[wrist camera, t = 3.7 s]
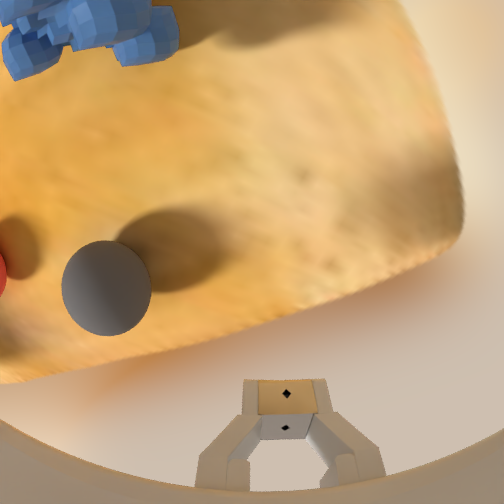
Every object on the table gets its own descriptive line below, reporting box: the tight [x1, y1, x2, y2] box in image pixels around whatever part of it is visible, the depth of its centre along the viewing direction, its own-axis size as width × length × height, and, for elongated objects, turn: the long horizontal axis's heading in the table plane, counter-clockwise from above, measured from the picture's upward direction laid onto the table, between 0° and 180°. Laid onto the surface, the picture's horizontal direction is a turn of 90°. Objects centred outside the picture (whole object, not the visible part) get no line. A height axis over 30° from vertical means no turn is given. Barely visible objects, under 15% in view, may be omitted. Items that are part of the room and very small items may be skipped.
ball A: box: [62, 241, 151, 336], centre depth 15 cm, size 6×6×6 cm
